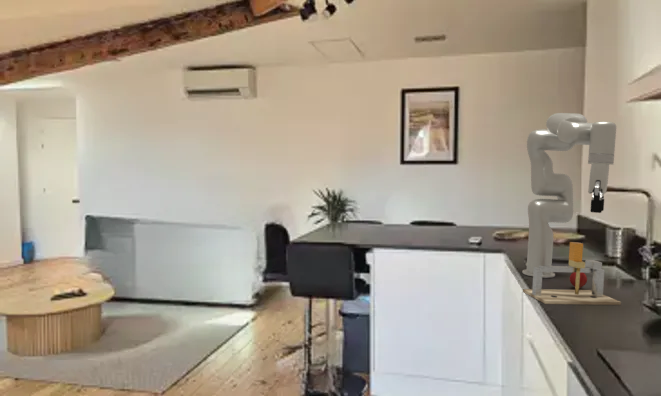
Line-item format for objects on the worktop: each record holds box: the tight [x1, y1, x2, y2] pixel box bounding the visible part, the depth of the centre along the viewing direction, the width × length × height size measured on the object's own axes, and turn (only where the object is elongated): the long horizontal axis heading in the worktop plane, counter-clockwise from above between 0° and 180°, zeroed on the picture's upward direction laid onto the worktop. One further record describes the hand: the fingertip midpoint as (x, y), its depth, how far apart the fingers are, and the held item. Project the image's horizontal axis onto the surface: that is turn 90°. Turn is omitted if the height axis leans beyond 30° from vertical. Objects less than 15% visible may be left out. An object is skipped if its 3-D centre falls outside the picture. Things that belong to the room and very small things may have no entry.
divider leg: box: [568, 241, 585, 294], centre depth 178 cm, size 5×3×17 cm, turn 5°
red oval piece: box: [569, 272, 588, 290], centre depth 195 cm, size 6×6×8 cm
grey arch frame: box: [531, 259, 606, 297], centre depth 178 cm, size 5×24×12 cm, turn 95°
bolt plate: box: [522, 288, 622, 306], centre depth 180 cm, size 16×26×1 cm, turn 95°
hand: (597, 211), depth 174 cm, fingers open, 9 cm apart
